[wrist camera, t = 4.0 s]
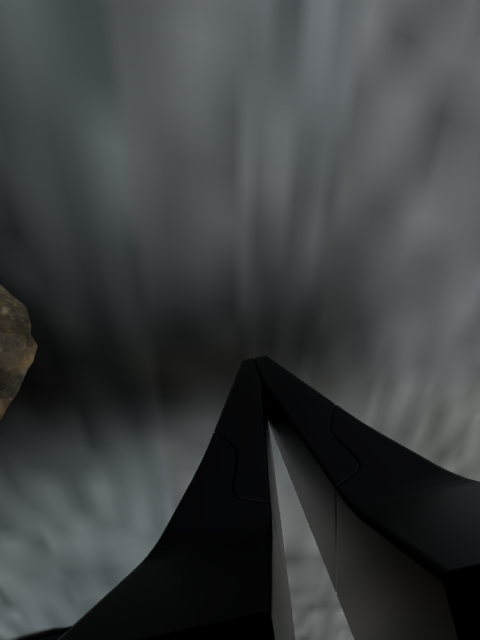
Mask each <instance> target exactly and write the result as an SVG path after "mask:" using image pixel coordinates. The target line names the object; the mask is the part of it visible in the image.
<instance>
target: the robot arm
mask: <svg viewBox="0 0 480 640" xmlns="http://www.w3.org/2000/svg"><path fill="white" fill-rule="evenodd" d="M268 421H269V424H270V427H271V430H272V432H273V435H274V437H275V440H276V442H277V445H278V447H279V450H280V452H281V455H282V457H283V460H284V462H285V465H286V467H287V470H288V473H289V475H290V478H291V480H292V483H293V485H294V488H295V490H296V493H297V495H298V498H299V500H300V503H301V505H302V508H303V510H304V513H305V515H306V518H307V521H308V523H309V526H310V528H311V531H312V533H313V536H314V538H315V541H316V543H317V546H318V548H319V551H320V553H321V556H322V558H323V561H324V564H325V566H326V569H327V571H328V574H329V576H330V579H331V581H332V584H333V586H334V589H335V591H336V592H337V597H338V599H339V602H340V604H341V607H342V609H343V612H344V614H345V617H346V619H347V622H348V624H349V627H350V629H351V632H352V634H353V637H354V639H355V640H480V482H479V481H475V480H471V479H468V478H465V477H462V476H460V475H457V474H455V473H452V472H450V471H448V470H446V469H444V468H442V467H440V466H438V465H436V464H434V463H432V462H431V461H429V460H427V459H425V458H424V457H422V456H420V455H418V454H417V453H415V452H413V451H411V450H409V449H408V448H406V447H404V446H402V445H401V444H399V443H397V442H395V441H394V440H392V439H390V438H388V437H386V436H385V435H383V434H381V433H380V432H378V431H376V430H374V429H373V428H371V427H369V426H368V425H366V424H364V423H363V422H361V421H360V420H358V419H357V418H355V417H354V416H352V415H351V414H349V413H348V412H346V411H345V410H343V409H342V408H340V407H339V406H338V405H335V404H334V403H333V402H332V401H330V400H329V399H327V398H326V397H324V396H323V395H322V394H320V393H319V392H317V391H316V390H314V389H313V388H312V387H310V386H309V385H307V384H306V383H304V382H303V381H302V380H300V379H299V378H297V377H296V376H294V375H293V374H292V373H290V372H289V371H287V370H286V369H284V368H283V367H282V366H280V365H279V364H277V363H276V362H274V361H273V360H272V359H270V358H269V357H267V356H261V357H256V358H255V359H253V358H251V359H247V360H243V361H242V362H241V365H240V367H239V370H238V372H237V375H236V377H235V380H234V382H233V385H232V387H231V390H230V392H229V395H228V398H227V400H226V403H225V405H224V408H223V410H222V413H221V415H220V418H219V420H218V423H217V425H216V428H215V431H214V432H215V433H213V435H212V438H211V440H210V443H209V445H208V448H207V450H206V452H205V455H204V457H203V459H202V461H201V463H200V465H199V467H198V469H197V471H196V473H195V475H194V477H193V479H192V481H191V482H190V484H189V486H188V488H187V490H186V492H185V493H184V495H183V497H182V499H181V501H180V503H179V505H178V506H177V508H176V510H175V512H174V514H173V516H172V517H171V519H170V521H169V523H168V525H167V527H166V528H165V530H164V532H163V534H162V535H161V537H160V539H159V540H158V542H157V543H156V545H155V546H154V548H153V549H152V550H151V552H150V553H149V554H148V556H147V557H146V558H145V559H144V560H143V561H142V563H141V564H139V565H138V566H137V567H136V568H135V569H134V570H133V571H132V572H131V573H130V574H129V575H128V576H127V577H125V578H124V579H123V580H122V581H121V582H120V583H119V584H118V585H117V586H116V587H115V588H113V589H112V590H111V591H110V592H109V593H108V594H107V595H106V596H105V597H104V598H103V599H101V600H100V601H99V602H98V603H97V604H96V605H95V606H94V607H93V608H92V609H91V610H89V611H88V612H87V613H86V614H85V615H84V616H83V617H82V618H81V619H80V620H79V621H77V622H76V623H75V624H74V625H73V626H72V627H71V628H70V629H69V630H68V631H67V632H65V633H61V634H57V635H53V636H49V637H45V638H41V639H37V640H295V633H294V625H293V617H292V609H291V601H290V593H289V584H288V576H287V568H286V560H285V552H284V544H283V536H282V528H281V520H280V512H279V504H278V495H277V487H276V479H275V471H274V463H273V455H272V447H271V439H270V431H269V424H268Z"/></svg>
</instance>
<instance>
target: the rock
mask: <svg viewBox="0 0 480 640" xmlns="http://www.w3.org/2000/svg"><path fill="white" fill-rule="evenodd" d="M30 331H31V324H30V319H29V314H28V309H27V307H26V306H25V305H24V304H23V303H22V302H20V301H19V300H18V299H16V298H15V297H14V296H12V295H11V294H10V293H9V292H8V291H7V290H6V289H5V288H4V287H3V286H2V285H0V421H1V419H2V417H3V415H4V413H5V411H6V410H7V408H8V406H9V405H10V403H11V402H12V400H13V399H14V398H15V396H16V395H17V393H18V392H19V389H20V387H21V384H22V382H23V379H24V377H25V375H26V373H27V370H28V368H29V367H30V366H31V364H32V363H33V360H34V357H35V354H36V350H37V347H38V345H37V344H36V342H35V341H34V339H33V337H32V336H31V334H30Z"/></svg>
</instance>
